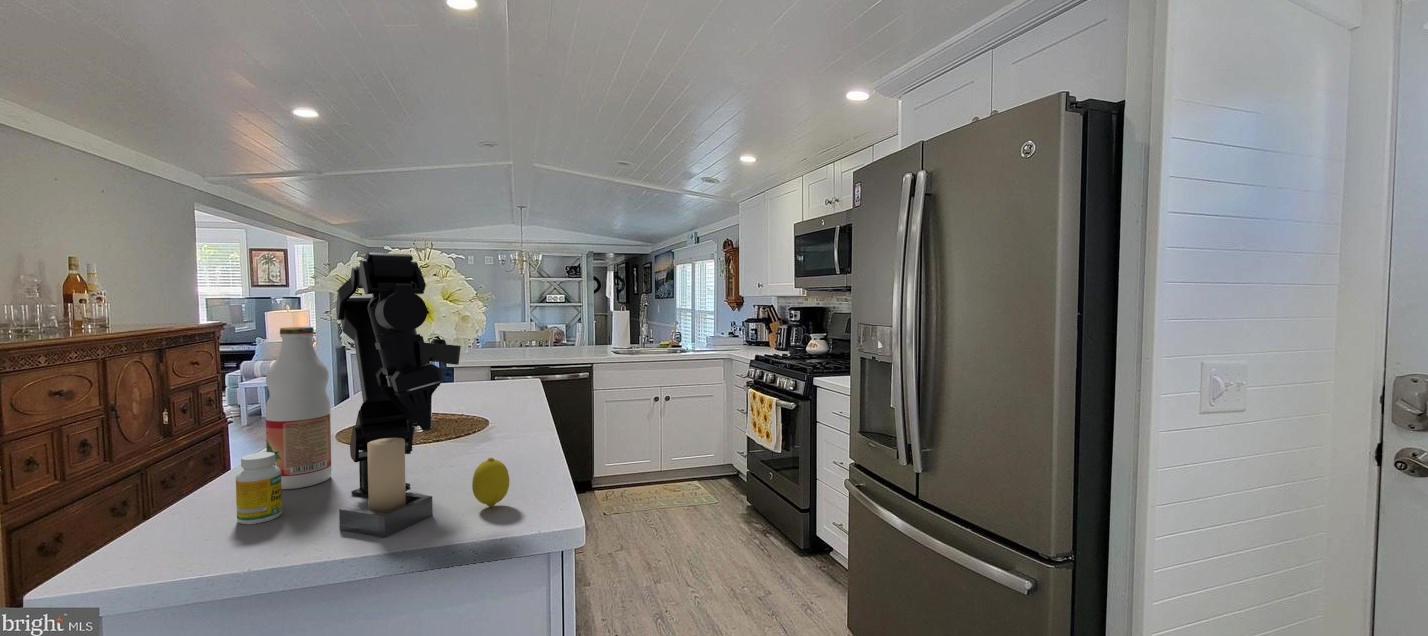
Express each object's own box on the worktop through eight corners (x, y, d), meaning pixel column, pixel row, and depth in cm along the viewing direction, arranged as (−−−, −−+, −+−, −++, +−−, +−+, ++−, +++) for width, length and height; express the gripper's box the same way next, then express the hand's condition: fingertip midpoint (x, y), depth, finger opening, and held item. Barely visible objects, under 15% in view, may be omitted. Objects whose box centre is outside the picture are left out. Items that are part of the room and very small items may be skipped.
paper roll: (361, 520, 83) (360, 443, 83) (393, 509, 88) (392, 436, 87) (381, 526, 81) (380, 447, 81) (412, 515, 85) (411, 440, 85)
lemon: (496, 515, 87) (496, 463, 87) (465, 512, 88) (464, 461, 88) (516, 502, 93) (516, 454, 92) (486, 499, 94) (485, 452, 93)
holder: (339, 529, 82) (339, 509, 81) (389, 508, 90) (389, 489, 90) (384, 537, 79) (384, 516, 79) (432, 515, 87) (432, 496, 87)
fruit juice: (315, 489, 98) (311, 328, 97) (254, 491, 97) (250, 328, 96) (341, 472, 108) (338, 325, 107) (286, 474, 106) (283, 326, 105)
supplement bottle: (243, 514, 87) (241, 453, 86) (286, 509, 89) (284, 449, 89) (231, 527, 82) (229, 462, 82) (277, 521, 84) (275, 458, 84)
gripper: (464, 318, 87) (488, 415, 89) (435, 322, 101) (456, 405, 103) (383, 336, 80) (411, 441, 82) (365, 337, 95) (389, 426, 96)
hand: (420, 426), depth 91 cm, fingers open, 9 cm apart
